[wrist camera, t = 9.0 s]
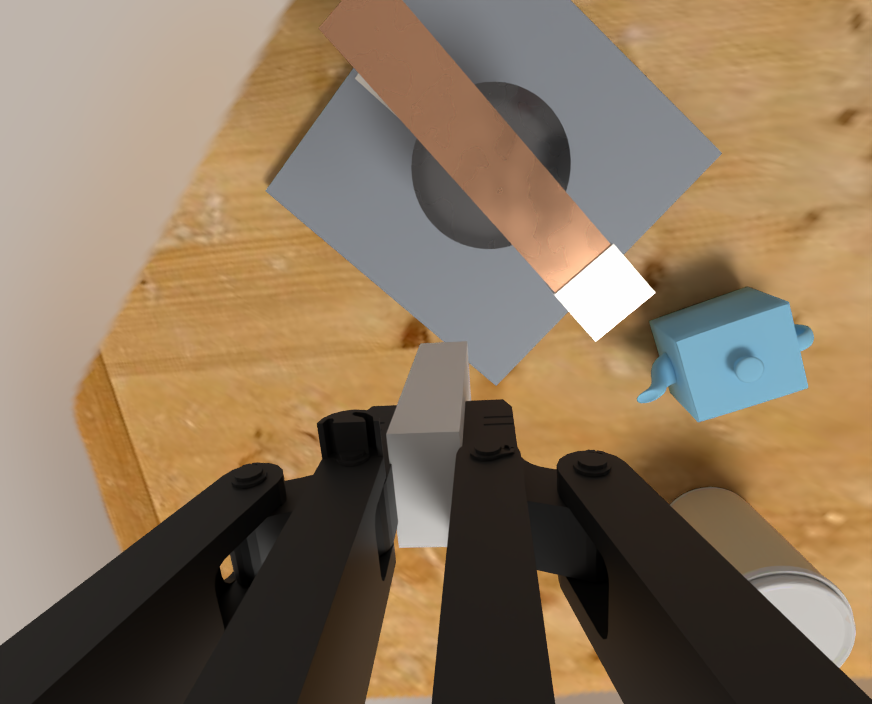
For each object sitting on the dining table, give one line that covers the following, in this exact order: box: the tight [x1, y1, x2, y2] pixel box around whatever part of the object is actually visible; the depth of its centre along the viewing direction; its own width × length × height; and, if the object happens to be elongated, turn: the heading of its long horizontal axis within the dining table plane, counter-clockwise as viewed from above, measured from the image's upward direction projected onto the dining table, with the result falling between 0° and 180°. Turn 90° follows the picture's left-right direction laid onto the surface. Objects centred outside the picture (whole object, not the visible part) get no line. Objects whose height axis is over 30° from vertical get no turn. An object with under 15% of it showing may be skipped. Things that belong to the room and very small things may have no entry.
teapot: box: [637, 287, 814, 422], centre depth 38 cm, size 12×6×8 cm, turn 112°
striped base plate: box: [266, 0, 722, 385], centre depth 35 cm, size 22×22×8 cm
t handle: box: [319, 0, 655, 341], centre depth 27 cm, size 18×8×7 cm, turn 43°
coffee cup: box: [670, 487, 856, 668], centre depth 40 cm, size 9×9×12 cm
